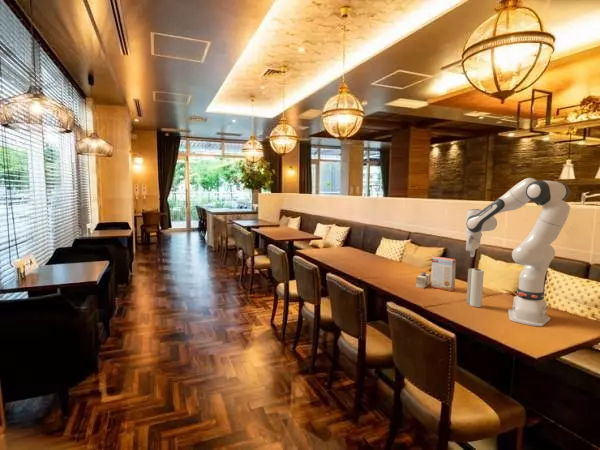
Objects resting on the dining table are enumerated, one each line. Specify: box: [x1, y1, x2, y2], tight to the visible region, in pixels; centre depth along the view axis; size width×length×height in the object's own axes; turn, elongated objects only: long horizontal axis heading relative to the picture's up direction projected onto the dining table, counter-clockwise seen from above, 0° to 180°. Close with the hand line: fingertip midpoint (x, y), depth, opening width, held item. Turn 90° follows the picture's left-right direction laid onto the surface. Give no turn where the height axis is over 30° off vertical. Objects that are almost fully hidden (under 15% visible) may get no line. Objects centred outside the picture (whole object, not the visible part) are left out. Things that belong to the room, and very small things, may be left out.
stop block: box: [415, 271, 431, 289], centre depth 239 cm, size 14×5×9 cm, turn 141°
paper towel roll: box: [465, 268, 485, 308], centre depth 199 cm, size 7×6×21 cm
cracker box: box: [430, 256, 457, 292], centre depth 231 cm, size 14×6×21 cm, turn 45°
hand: (472, 256), depth 218 cm, fingers closed
